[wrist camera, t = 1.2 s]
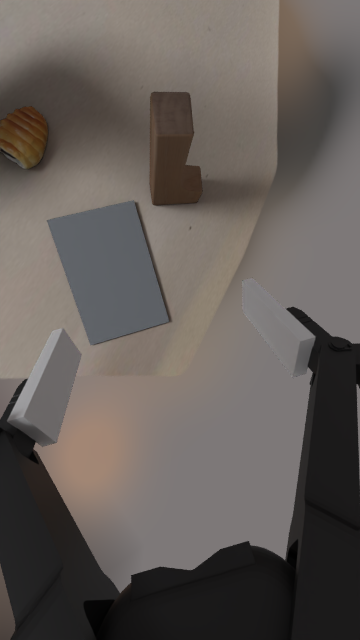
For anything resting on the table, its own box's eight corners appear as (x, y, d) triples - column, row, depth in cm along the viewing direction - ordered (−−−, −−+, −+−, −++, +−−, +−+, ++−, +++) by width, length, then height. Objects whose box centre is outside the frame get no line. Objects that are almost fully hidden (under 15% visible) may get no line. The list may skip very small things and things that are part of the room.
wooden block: (195, 179, 42) (229, 90, 24) (197, 203, 42) (232, 134, 24) (149, 181, 40) (149, 89, 23) (152, 206, 41) (155, 134, 23)
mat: (48, 221, 39) (46, 220, 38) (133, 201, 40) (133, 200, 40) (91, 344, 42) (90, 345, 41) (168, 321, 44) (169, 321, 43)
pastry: (22, 105, 37) (8, 83, 33) (60, 130, 38) (50, 112, 34) (-3, 153, 37) (-20, 137, 33) (35, 177, 38) (23, 163, 34)
